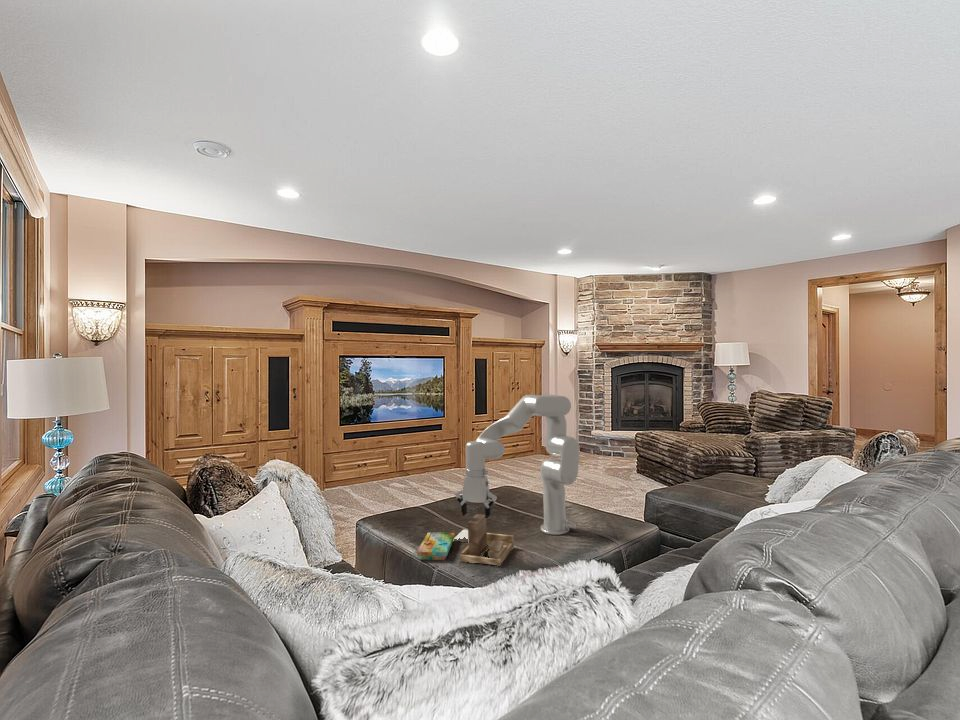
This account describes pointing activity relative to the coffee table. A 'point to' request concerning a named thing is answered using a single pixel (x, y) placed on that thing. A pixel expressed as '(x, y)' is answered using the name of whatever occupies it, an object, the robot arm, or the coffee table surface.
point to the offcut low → (496, 554)
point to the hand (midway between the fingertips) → (475, 515)
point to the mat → (462, 535)
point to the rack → (507, 541)
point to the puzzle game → (435, 546)
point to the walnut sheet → (477, 535)
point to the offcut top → (496, 546)
